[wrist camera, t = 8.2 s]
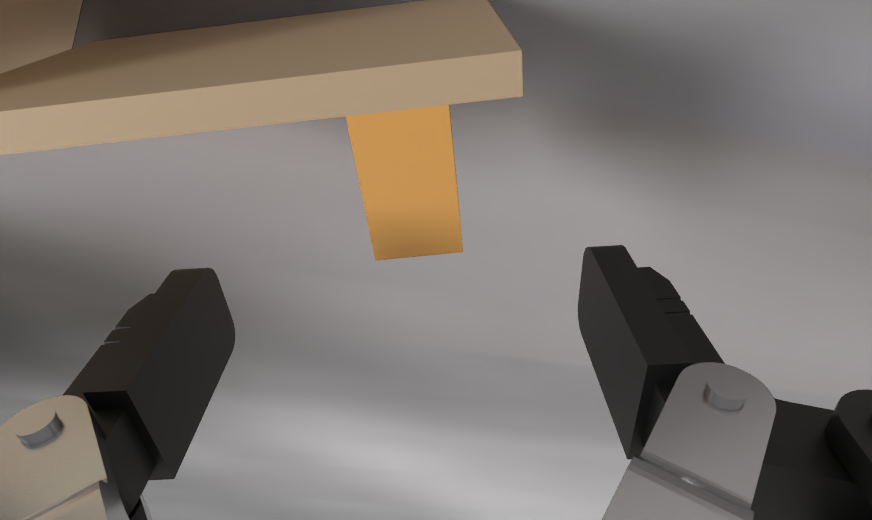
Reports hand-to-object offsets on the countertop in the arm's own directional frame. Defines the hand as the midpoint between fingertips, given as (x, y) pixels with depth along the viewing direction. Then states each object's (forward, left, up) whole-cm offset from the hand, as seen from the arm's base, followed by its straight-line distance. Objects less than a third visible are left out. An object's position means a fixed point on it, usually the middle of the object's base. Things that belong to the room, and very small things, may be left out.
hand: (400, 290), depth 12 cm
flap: (-5, -2, -14) cm, 15 cm away
